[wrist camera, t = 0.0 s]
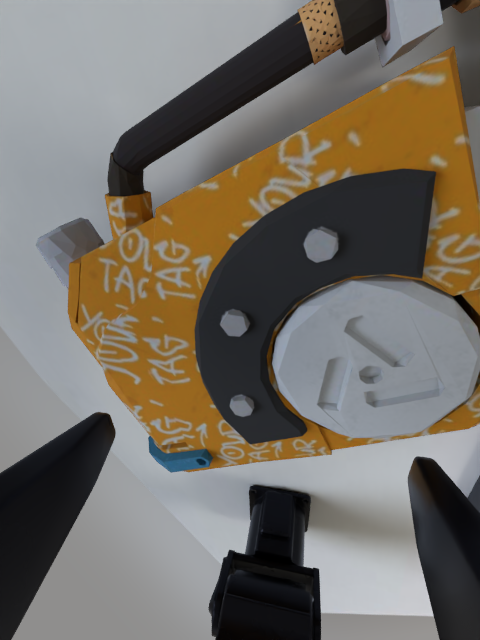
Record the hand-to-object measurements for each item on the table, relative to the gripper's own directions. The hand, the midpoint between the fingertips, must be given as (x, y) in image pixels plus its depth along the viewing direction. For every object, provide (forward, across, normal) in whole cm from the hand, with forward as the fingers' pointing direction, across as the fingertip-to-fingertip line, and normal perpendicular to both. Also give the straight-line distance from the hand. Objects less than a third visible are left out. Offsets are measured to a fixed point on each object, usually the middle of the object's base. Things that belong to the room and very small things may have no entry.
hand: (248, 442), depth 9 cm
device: (+15, 0, -1) cm, 15 cm away
